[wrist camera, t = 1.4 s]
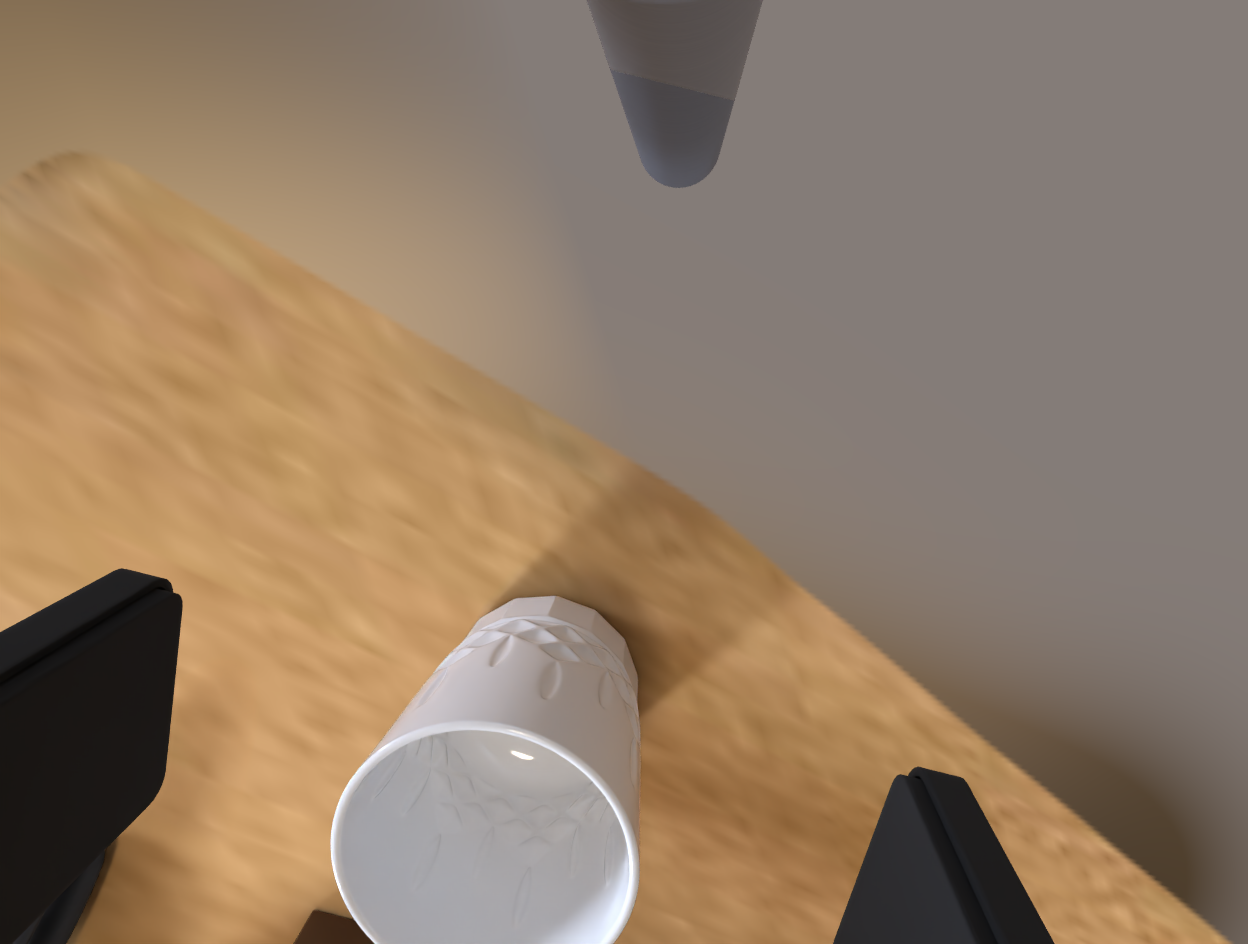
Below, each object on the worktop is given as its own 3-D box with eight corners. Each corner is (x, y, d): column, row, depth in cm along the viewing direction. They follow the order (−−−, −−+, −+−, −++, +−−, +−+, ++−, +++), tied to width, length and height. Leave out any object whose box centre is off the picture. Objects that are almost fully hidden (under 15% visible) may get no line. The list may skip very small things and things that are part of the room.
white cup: (685, 623, 30) (686, 790, 20) (610, 803, 31) (578, 1036, 22) (479, 547, 29) (377, 677, 20) (416, 731, 31) (295, 933, 22)
